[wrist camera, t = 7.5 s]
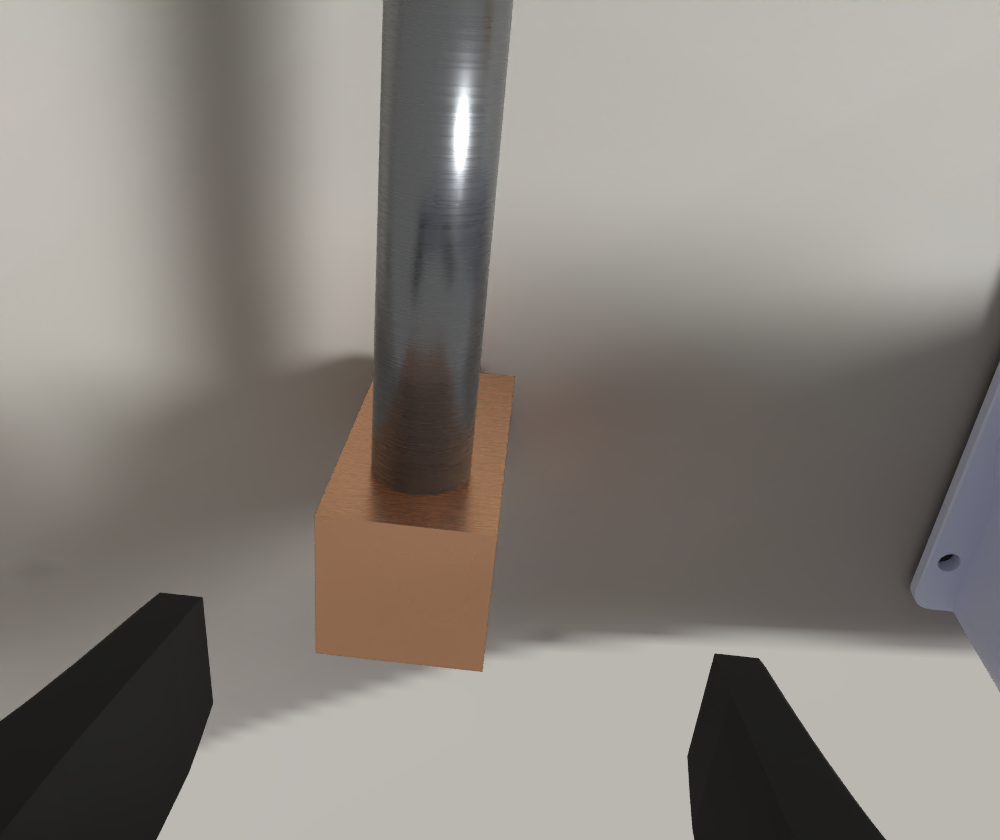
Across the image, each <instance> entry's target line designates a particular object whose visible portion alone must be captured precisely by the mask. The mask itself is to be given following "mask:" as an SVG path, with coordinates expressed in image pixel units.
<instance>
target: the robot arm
mask: <svg viewBox="0 0 1000 840" xmlns="http://www.w3.org/2000/svg"><path fill="white" fill-rule="evenodd" d="M948 554H954V555H953V556H952V557H951V559H949V560H947V561H941V562H939V560H940V559H941V558H942V557H943V556H945V555H948ZM910 591H911V593H912V596H913V597H914V599H915V601H916V603H917V604H918V605H920V606H921V607H923V608H926V609H932V610H941V611H950V612H954V614H955V616H956V618H957V619H958V621H959V623H960V625H961V626H962V628H963V630H964V631H965V633H966V635H967V637H968V638H969V640H970V642H971V643H972V645H973V647H974V649H975V650H976V652H977V654H978V655H979V657H980V659H981V661H982V662H983V664H984V666H985V668H986V669H987V671H988V673H989V674H990V676H991V678H992V679H993V681H994V683H995V685H996V686H997V688H998V690H999V692H1000V362H999V364H998V367H997V369H996V372H995V374H994V377H993V379H992V382H991V384H990V387H989V389H988V392H987V394H986V397H985V399H984V402H983V404H982V407H981V409H980V412H979V414H978V417H977V419H976V422H975V424H974V427H973V429H972V432H971V434H970V437H969V439H968V442H967V444H966V447H965V449H964V452H963V454H962V457H961V459H960V462H959V464H958V467H957V470H956V472H955V475H954V477H953V480H952V482H951V485H950V487H949V490H948V492H947V495H946V497H945V500H944V502H943V505H942V507H941V510H940V512H939V515H938V517H937V520H936V522H935V525H934V527H933V530H932V532H931V535H930V537H929V540H928V542H927V545H926V547H925V550H924V552H923V555H922V557H921V560H920V562H919V565H918V567H917V570H916V572H915V575H914V577H913V580H912V582H911V587H910ZM212 705H213V697H212V687H211V677H210V667H209V657H208V647H207V637H206V627H205V617H204V607H203V597H195V596H186V595H177V594H168V593H159V594H158V595H156V596H155V597H154V598H152V599H151V600H150V601H149V602H148V603H146V604H145V605H144V606H143V607H141V608H140V609H139V610H138V611H137V612H135V613H134V614H133V615H132V616H131V617H129V618H128V619H127V620H126V621H125V622H124V623H122V624H121V625H120V626H119V627H118V628H116V629H115V630H114V631H113V632H112V633H110V634H109V635H108V636H107V637H106V638H105V639H103V640H102V641H101V642H100V643H99V644H97V645H96V646H95V647H94V648H93V649H91V650H90V651H89V652H88V653H87V654H85V655H84V656H83V657H82V658H81V659H79V660H78V661H77V662H76V663H74V664H73V665H72V666H71V667H69V668H68V669H67V670H66V671H64V672H63V673H62V674H61V675H59V676H58V677H57V678H56V679H54V680H53V681H52V682H51V683H49V684H48V685H47V686H46V687H44V688H43V689H42V690H41V691H39V692H38V693H37V694H36V695H34V696H33V697H32V698H31V699H29V700H28V701H27V702H25V703H24V704H23V705H22V706H20V707H19V708H17V709H16V710H15V711H13V712H12V713H11V714H9V715H8V716H7V717H5V718H4V719H3V720H1V721H0V840H156V839H157V837H158V835H159V833H160V831H161V829H162V827H163V825H164V823H165V821H166V819H167V817H168V815H169V813H170V810H171V809H172V806H173V804H174V802H175V800H176V798H177V796H178V794H179V792H180V790H181V788H182V786H183V784H184V781H185V779H186V777H187V775H188V773H189V771H190V768H191V765H192V762H193V760H194V757H195V754H196V751H197V749H198V746H199V743H200V740H201V737H202V734H203V731H204V729H205V726H206V723H207V720H208V717H209V714H210V711H211V708H212ZM687 757H688V772H689V789H690V804H691V816H692V829H693V834H694V840H886V839H885V838H884V837H883V835H882V834H881V833H880V832H879V830H878V829H877V828H876V827H875V826H874V824H873V823H872V822H871V820H870V819H869V818H868V816H867V815H866V814H865V812H864V811H863V810H862V808H861V807H860V806H859V804H858V803H857V802H856V800H855V799H854V798H853V796H852V795H851V794H850V792H849V791H848V789H847V788H846V786H845V785H844V784H843V782H842V781H841V779H840V778H839V777H838V775H837V774H836V773H835V771H834V770H833V768H832V767H831V766H830V764H829V763H828V761H827V760H826V759H825V757H824V756H823V754H822V753H821V751H820V750H819V748H818V747H817V745H816V744H815V743H814V741H813V740H812V738H811V737H810V735H809V734H808V732H807V731H806V729H805V728H804V726H803V725H802V723H801V722H800V720H799V719H798V717H797V716H796V714H795V713H794V711H793V709H792V708H791V706H790V705H789V703H788V702H787V700H786V699H785V697H784V695H783V694H782V692H781V691H780V689H779V688H778V686H777V684H776V683H775V681H774V680H773V678H772V677H771V675H770V674H769V672H768V670H767V669H766V667H765V666H764V664H763V663H762V662H761V661H760V659H759V658H750V657H741V656H733V655H723V654H714V658H713V662H712V666H711V669H710V673H709V677H708V681H707V684H706V688H705V692H704V696H703V700H702V703H701V707H700V711H699V715H698V718H697V722H696V726H695V730H694V733H693V737H692V741H691V745H690V748H689V753H688V756H687Z"/></svg>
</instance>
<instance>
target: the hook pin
mask: <svg viewBox="0 0 1000 840" xmlns="http://www.w3.org/2000/svg"><path fill="white" fill-rule="evenodd" d="M512 8H513V0H383V22H382V61H381V100H380V139H379V177H378V216H377V255H376V293H375V332H374V371H373V381H372V383H371V385H370V388H369V390H368V392H367V395H366V397H365V399H364V402H363V404H362V406H361V409H360V411H359V413H358V416H357V418H356V420H355V422H354V425H353V427H352V429H351V432H350V434H349V436H348V439H347V441H346V443H345V446H344V448H343V450H342V453H341V455H340V457H339V460H338V462H337V464H336V467H335V469H334V471H333V474H332V476H331V478H330V481H329V483H328V485H327V487H326V490H325V492H324V494H323V497H322V499H321V501H320V504H319V506H318V508H317V511H316V513H315V610H316V653H321V654H330V655H339V656H348V657H357V658H365V659H374V660H383V661H392V662H401V663H410V664H418V665H427V666H436V667H445V668H454V669H462V670H471V671H480V672H482V670H483V661H484V652H485V643H486V634H487V625H488V616H489V607H490V598H491V589H492V580H493V571H494V562H495V553H496V544H497V535H498V526H499V516H500V507H501V498H502V489H503V480H504V471H505V462H506V452H507V443H508V434H509V425H510V416H511V407H512V398H513V388H514V379H515V376H506V375H496V374H487V373H480V365H481V354H482V343H483V331H484V320H485V309H486V298H487V287H488V276H489V264H490V253H491V242H492V231H493V220H494V209H495V197H496V186H497V175H498V164H499V153H500V142H501V130H502V119H503V108H504V97H505V86H506V75H507V63H508V52H509V41H510V30H511V19H512Z"/></svg>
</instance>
